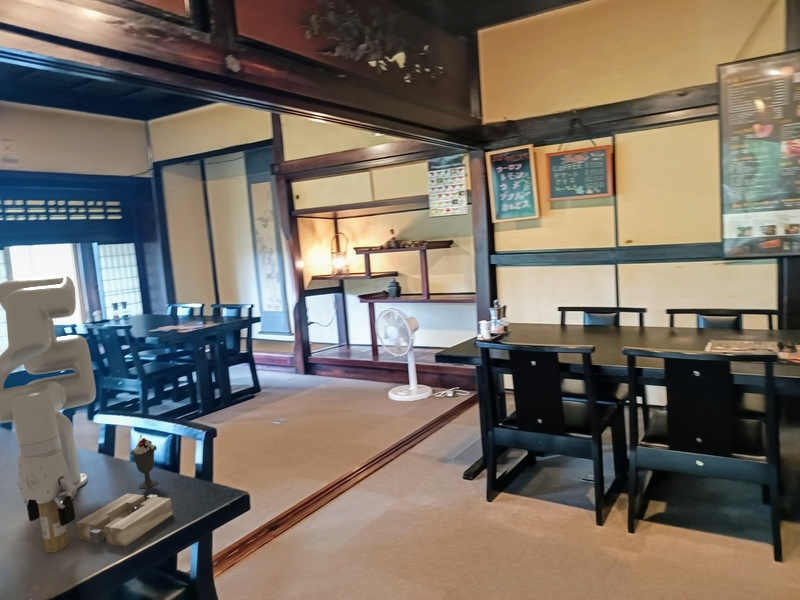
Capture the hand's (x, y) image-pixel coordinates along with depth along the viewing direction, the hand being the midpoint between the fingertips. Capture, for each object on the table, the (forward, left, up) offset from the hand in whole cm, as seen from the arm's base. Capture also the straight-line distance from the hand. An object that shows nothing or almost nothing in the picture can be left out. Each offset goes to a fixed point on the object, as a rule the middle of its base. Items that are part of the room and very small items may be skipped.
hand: (52, 520), depth 120 cm
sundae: (-4, +30, -7) cm, 31 cm away
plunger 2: (+9, +16, -5) cm, 19 cm away
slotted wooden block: (+9, +11, -7) cm, 16 cm away
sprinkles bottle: (0, 0, -7) cm, 7 cm away
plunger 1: (+9, +6, -6) cm, 12 cm away
